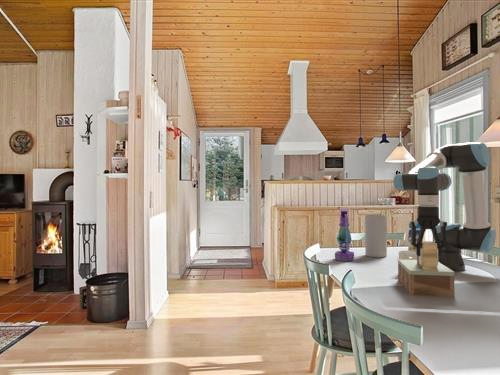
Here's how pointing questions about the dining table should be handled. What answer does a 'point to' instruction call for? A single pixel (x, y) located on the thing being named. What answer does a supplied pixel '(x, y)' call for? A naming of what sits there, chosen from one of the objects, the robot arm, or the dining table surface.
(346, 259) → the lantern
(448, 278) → the open wooden box
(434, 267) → the tall wooden block
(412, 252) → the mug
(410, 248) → the beverage bottle
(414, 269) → the lid
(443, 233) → the robot arm
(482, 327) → the dining table surface
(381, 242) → the cylinder vase
